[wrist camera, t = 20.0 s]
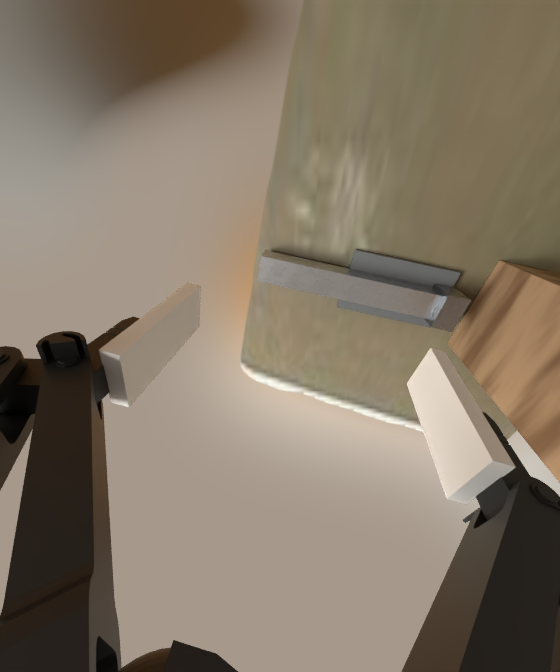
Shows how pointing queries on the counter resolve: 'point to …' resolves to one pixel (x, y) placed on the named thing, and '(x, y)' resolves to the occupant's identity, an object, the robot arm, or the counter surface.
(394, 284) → the pin
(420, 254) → the counter surface
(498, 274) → the brown wooden block
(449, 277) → the base plate
